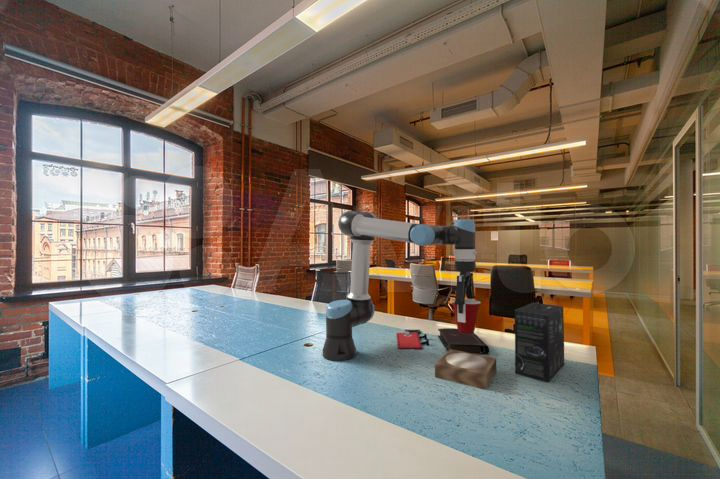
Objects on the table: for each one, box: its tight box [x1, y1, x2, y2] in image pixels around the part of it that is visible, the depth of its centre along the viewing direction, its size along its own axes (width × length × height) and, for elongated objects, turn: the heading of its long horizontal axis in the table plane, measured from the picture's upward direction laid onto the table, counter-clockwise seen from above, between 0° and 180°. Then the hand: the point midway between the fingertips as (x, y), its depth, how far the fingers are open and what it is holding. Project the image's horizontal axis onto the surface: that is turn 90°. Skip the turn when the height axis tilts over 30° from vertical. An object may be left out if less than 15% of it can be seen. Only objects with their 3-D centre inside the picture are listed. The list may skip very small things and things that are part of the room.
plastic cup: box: [450, 298, 482, 334], centre depth 117 cm, size 11×11×12 cm
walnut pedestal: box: [434, 349, 497, 390], centre depth 117 cm, size 18×18×5 cm
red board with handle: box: [396, 329, 430, 351], centre depth 159 cm, size 30×3×15 cm
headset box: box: [514, 301, 565, 383], centre depth 121 cm, size 22×12×26 cm, turn 134°
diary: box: [437, 327, 490, 355], centre depth 150 cm, size 19×25×5 cm
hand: (465, 318), depth 117 cm, fingers closed on plastic cup, 11 cm apart
